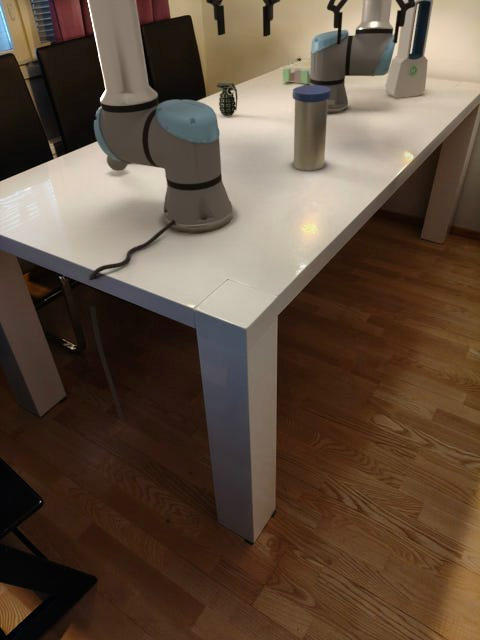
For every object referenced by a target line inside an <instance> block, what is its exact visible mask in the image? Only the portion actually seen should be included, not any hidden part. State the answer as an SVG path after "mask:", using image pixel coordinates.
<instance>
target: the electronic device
mask: <svg viewBox="0 0 480 640" xmlns="http://www.w3.org/2000/svg"><path fill="white" fill-rule="evenodd" d="M403 1H404V3H407V2H408V0H403ZM414 1H415V6H414V7H413V8H410V9H408V10H407V11H406V16H405V23H404V26H403V27H400V28H399V36H398V43H397V44H398V45H397V53H396V55H395V56H394V58H392V60H391V64H390V67H389V71H388V73H387V74H388V75H387V78H386V82H385V87H384V88H385V92H386V93H387V95H389V96H390V97H393V98H395V99H401V98H410V97H417V96H422V95H423V94H424V93H425V92H426V84H427V74H428V73H427V72H428V61H429V60H428V59H427V57H426V56H425V53H426V47H427V42H428V34H429V29H430V23H431V17H432V10H433V6H434V5H433V4H434V0H414Z"/></svg>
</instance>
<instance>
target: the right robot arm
mask: <svg viewBox="0 0 480 640" xmlns="http://www.w3.org/2000/svg"><path fill="white" fill-rule="evenodd" d="M348 1H349V0H340V1H339V2H338V3H337V5H335V2H336V0H329V2H328V3H327V5H326V10H327V11H330V12H332V13H333V29H337V30H331V31H327V32H323V33H319V34H316V35H315V36H314V37H313V38H312V40H311V47H310V58H311V70H310V84H309V85H320V86H326V87H329V88H330V89H331V94H330V98H329V99H328V107H327V115H331V114H332V115H333V114H339V113H343V112H345V111H347V110H348V108H349V98H348V95H347V91H346V85H345V81H346V80H345V79H346V77H380V76H382V77H383V76H385V75H387V74H389V70H390V66H391V63H392V60H393V55H394V51H395V47H396V44H398V40H399V33H400V28H401V27H403V26H404V23H405V16H406V11H407V10H408V9H410V8H413V7H414V6H415V1H414V0H408V2H407V3H404V0H395V2H396V4H397V5H398V7H399V8H400V9H397V11H396V19H395V26H394V27H393V25H392V24H391V22H390V20H391V19H390V18H391V10H392V2H393V0H362V11H361V19H360V20H361V21H360V23H359V25H357V26H356V28H355V33H354V35H353V34H352V35H350V33H349V30H347V29H342V26H343V11H341V10H342V8H343V7H344V6H345V4H346V3H348ZM302 60H303V59H302V58H301V57H300V58H299V59H298V58H297V60H296V61H298V62H299V61H302Z"/></svg>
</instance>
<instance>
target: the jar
mask: <svg viewBox="0 0 480 640" xmlns="http://www.w3.org/2000/svg"><path fill="white" fill-rule="evenodd" d="M327 107H328V99H327V100H323V101H317V102H303V101H298V100H295V99H294V123H293V125H294V129H293V135H294V136H293V167H294V168H295V169H297V170H301V171H317V170H320V169H322V168H324V166H325V159H326V158H325V155H326V139H327V125H328V124H327V122H328V114H327Z"/></svg>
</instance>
